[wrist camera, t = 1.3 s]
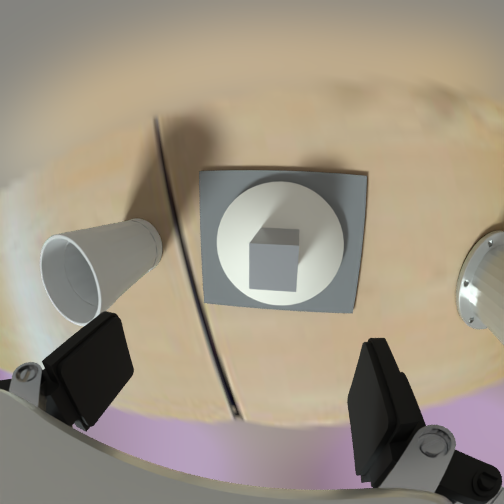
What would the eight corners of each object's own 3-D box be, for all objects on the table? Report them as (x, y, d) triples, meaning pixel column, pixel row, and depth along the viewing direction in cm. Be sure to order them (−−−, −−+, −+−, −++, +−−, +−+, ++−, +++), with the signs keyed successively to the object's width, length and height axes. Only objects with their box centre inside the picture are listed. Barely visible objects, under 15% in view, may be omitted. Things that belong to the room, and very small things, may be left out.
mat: (365, 175, 23) (366, 176, 23) (351, 311, 27) (352, 313, 27) (201, 171, 26) (199, 171, 26) (205, 301, 30) (204, 302, 29)
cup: (112, 209, 29) (34, 230, 18) (169, 213, 28) (95, 240, 16) (115, 272, 31) (48, 312, 20) (169, 283, 30) (108, 337, 19)
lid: (346, 184, 24) (363, 188, 17) (335, 304, 27) (344, 342, 20) (218, 180, 26) (191, 183, 19) (221, 296, 29) (199, 330, 22)
